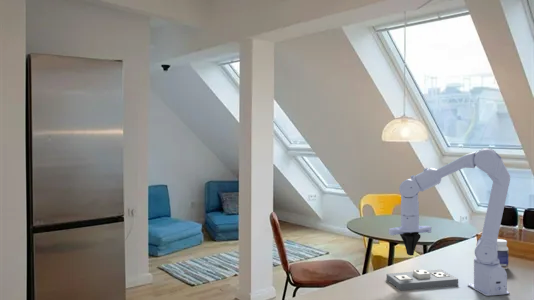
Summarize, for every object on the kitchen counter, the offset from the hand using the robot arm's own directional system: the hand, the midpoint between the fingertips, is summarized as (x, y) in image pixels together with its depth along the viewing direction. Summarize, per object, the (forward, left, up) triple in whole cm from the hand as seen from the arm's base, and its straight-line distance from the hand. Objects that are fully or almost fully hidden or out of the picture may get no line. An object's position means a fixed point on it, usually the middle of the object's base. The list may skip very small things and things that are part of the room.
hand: (410, 254), depth 151 cm
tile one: (-4, +5, -8) cm, 10 cm away
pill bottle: (+4, -36, -8) cm, 37 cm away
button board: (-4, -2, -8) cm, 9 cm away
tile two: (-4, -2, -7) cm, 8 cm away
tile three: (-4, -8, -8) cm, 12 cm away
